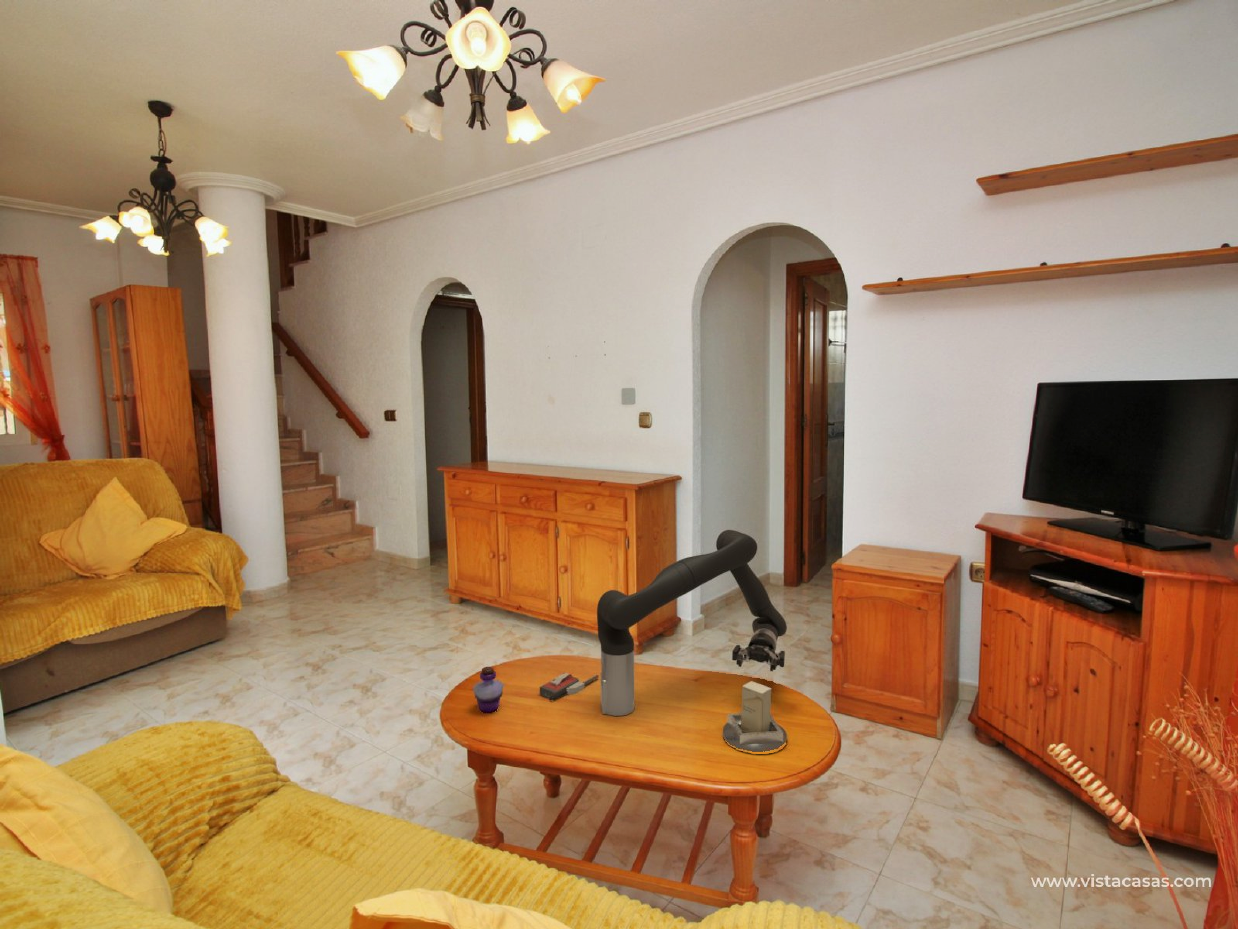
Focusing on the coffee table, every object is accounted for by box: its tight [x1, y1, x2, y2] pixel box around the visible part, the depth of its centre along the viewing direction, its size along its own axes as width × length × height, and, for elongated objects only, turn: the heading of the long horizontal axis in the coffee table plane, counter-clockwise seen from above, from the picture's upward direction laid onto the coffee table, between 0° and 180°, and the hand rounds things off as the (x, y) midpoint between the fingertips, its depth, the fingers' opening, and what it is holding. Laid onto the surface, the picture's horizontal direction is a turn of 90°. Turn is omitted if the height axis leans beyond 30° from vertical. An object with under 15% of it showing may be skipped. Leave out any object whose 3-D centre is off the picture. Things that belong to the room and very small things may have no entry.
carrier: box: [722, 712, 788, 752], centre depth 168 cm, size 16×16×4 cm
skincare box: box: [740, 680, 772, 733], centre depth 168 cm, size 6×4×12 cm
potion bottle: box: [472, 666, 505, 714], centre depth 184 cm, size 9×9×12 cm
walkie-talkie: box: [539, 672, 600, 701], centre depth 198 cm, size 9×4×20 cm
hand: (755, 665), depth 178 cm, fingers open, 8 cm apart
